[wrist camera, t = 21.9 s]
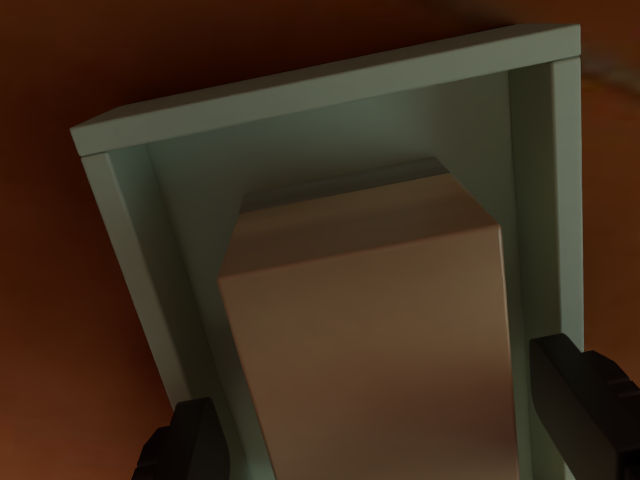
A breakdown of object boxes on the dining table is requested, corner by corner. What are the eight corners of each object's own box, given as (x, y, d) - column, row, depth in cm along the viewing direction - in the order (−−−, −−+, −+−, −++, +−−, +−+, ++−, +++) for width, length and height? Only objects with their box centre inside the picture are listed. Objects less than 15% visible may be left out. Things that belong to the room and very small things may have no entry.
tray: (117, 106, 14) (67, 128, 11) (521, 23, 13) (581, 22, 10) (258, 532, 19) (250, 622, 16) (544, 485, 19) (587, 568, 16)
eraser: (244, 194, 14) (214, 278, 9) (435, 156, 14) (503, 223, 9) (318, 481, 18) (323, 644, 13) (470, 456, 17) (530, 612, 13)
